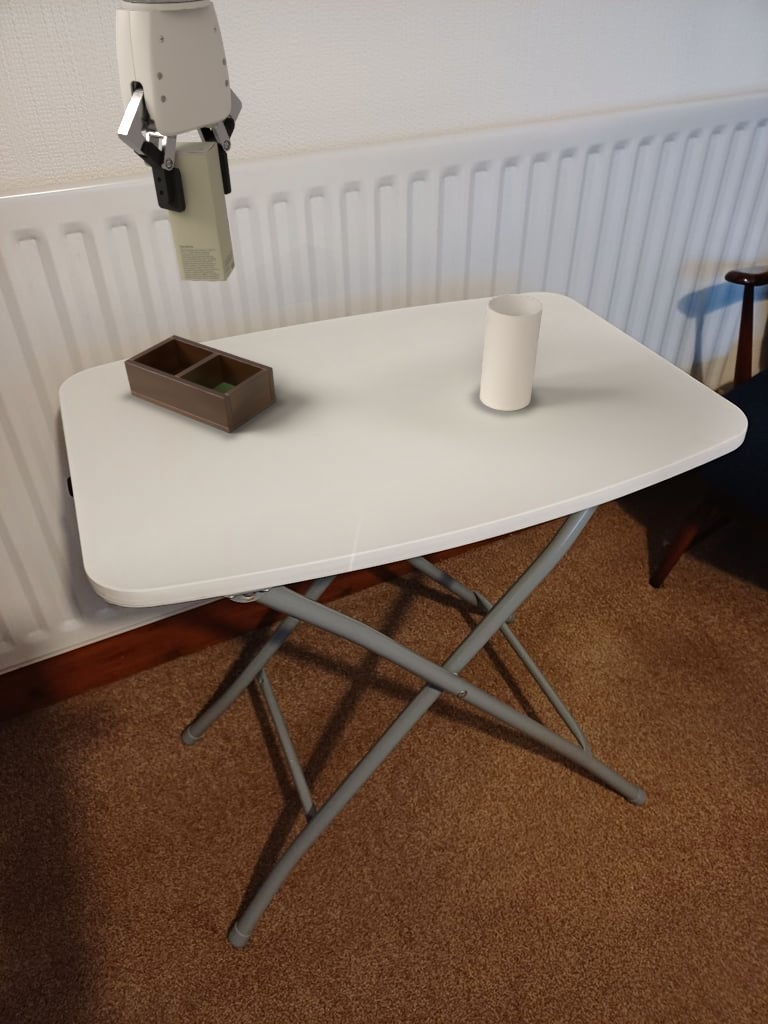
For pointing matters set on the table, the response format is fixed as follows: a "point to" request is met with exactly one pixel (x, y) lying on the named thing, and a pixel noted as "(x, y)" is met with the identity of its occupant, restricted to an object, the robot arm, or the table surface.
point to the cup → (510, 351)
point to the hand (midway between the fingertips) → (195, 198)
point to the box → (201, 215)
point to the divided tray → (201, 382)
